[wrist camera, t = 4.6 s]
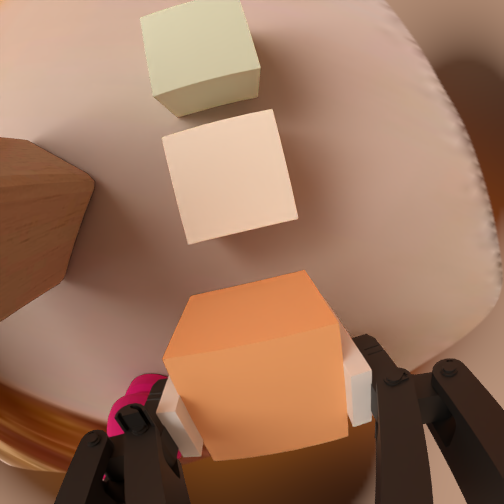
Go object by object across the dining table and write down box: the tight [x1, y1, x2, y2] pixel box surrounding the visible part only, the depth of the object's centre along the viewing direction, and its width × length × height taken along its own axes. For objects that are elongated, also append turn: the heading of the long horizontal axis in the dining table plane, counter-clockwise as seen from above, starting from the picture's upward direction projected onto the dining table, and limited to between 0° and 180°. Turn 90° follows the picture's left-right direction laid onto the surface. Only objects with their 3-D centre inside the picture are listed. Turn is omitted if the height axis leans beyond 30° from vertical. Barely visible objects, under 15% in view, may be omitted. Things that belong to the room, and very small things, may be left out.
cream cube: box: [162, 109, 298, 245], centre depth 18 cm, size 6×6×6 cm
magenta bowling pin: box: [103, 374, 182, 481], centre depth 15 cm, size 7×7×20 cm
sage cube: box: [140, 0, 261, 118], centre depth 16 cm, size 6×6×6 cm
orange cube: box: [162, 270, 348, 461], centre depth 13 cm, size 6×6×6 cm
